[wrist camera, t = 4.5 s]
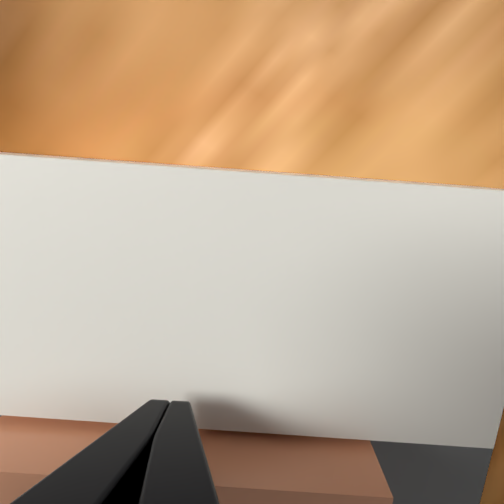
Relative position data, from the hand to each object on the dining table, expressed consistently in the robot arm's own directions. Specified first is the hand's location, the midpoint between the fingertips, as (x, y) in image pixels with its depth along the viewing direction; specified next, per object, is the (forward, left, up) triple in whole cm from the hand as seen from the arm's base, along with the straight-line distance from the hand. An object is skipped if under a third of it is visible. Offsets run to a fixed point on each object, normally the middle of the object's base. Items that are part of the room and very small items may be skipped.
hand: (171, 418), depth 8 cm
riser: (0, +2, -4) cm, 4 cm away
